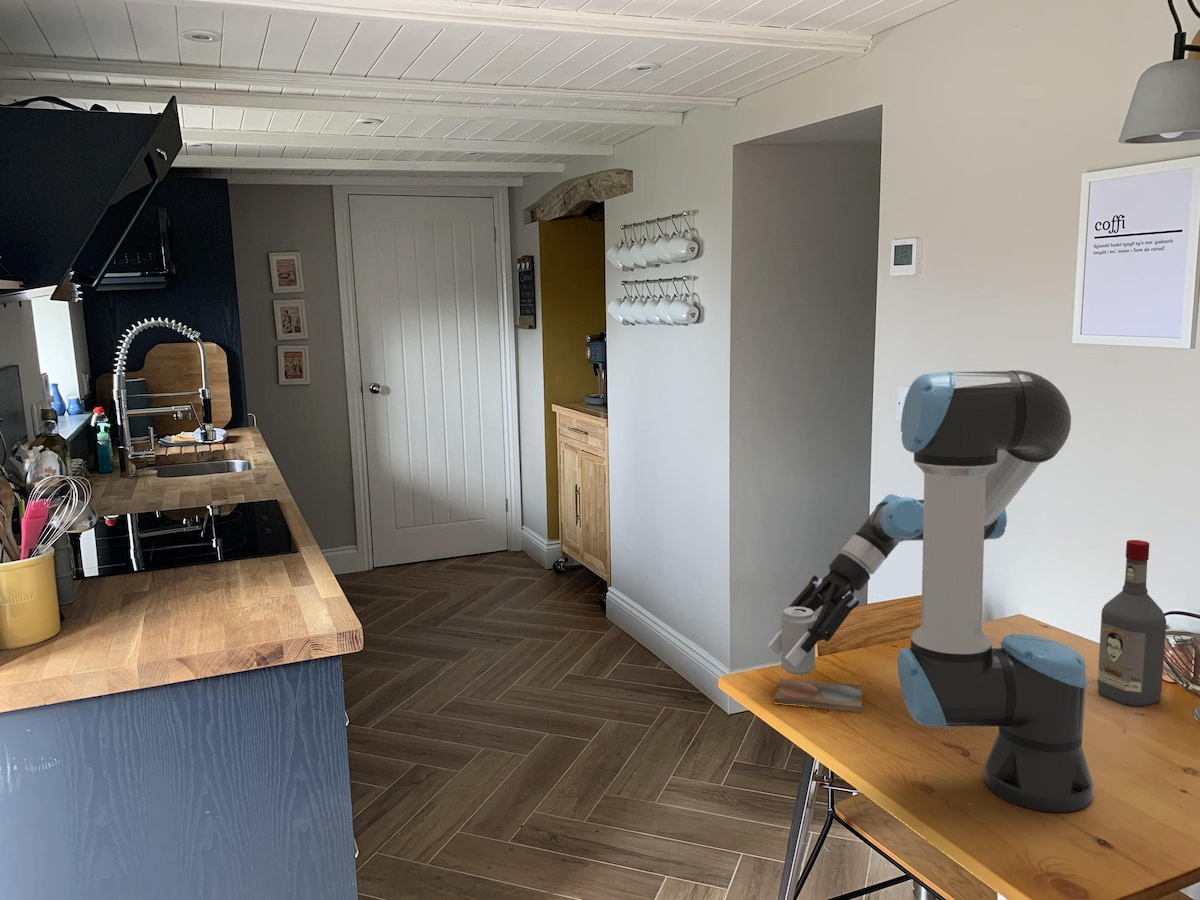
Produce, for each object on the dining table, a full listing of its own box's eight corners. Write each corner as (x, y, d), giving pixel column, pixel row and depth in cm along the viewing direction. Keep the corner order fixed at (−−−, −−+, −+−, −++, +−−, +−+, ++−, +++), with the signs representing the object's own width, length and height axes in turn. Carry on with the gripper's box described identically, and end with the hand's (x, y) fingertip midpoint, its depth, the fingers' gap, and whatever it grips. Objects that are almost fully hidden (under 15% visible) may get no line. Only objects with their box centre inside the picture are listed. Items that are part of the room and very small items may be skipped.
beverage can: (819, 667, 178) (820, 608, 176) (808, 679, 173) (808, 618, 171) (788, 661, 181) (788, 603, 180) (776, 672, 176) (776, 613, 174)
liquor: (1123, 682, 179) (1132, 534, 175) (1167, 700, 171) (1178, 544, 166) (1090, 691, 176) (1098, 539, 171) (1133, 709, 167) (1143, 551, 163)
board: (861, 712, 169) (861, 706, 169) (774, 704, 174) (774, 697, 174) (862, 691, 179) (862, 684, 178) (779, 683, 183) (779, 677, 183)
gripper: (897, 589, 170) (820, 685, 168) (840, 563, 188) (769, 650, 186) (873, 565, 168) (794, 662, 165) (817, 541, 186) (745, 628, 183)
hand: (781, 656), depth 175 cm, fingers closed on beverage can, 6 cm apart
